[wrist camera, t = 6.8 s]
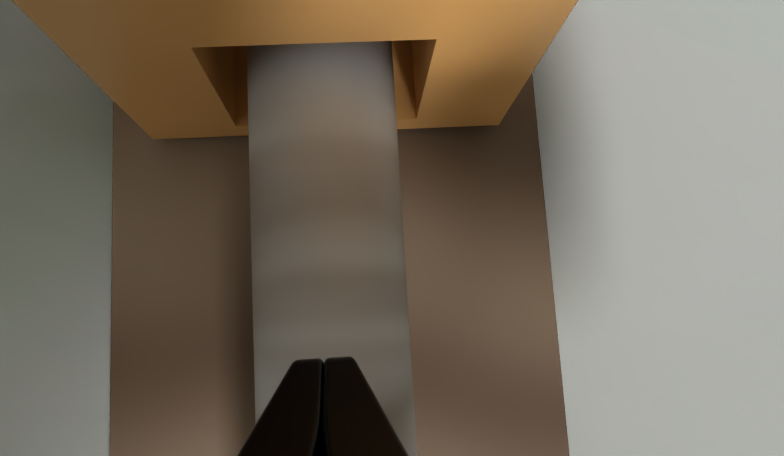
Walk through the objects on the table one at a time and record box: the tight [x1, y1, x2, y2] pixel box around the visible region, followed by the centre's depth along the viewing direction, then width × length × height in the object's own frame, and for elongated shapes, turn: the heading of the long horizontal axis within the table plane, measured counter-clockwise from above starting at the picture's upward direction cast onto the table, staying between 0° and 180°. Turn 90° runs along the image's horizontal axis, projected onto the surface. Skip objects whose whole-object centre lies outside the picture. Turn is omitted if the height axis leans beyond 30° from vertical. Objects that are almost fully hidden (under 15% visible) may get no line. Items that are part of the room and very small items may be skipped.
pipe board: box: [110, 41, 569, 456], centre depth 13 cm, size 24×10×6 cm, turn 3°
